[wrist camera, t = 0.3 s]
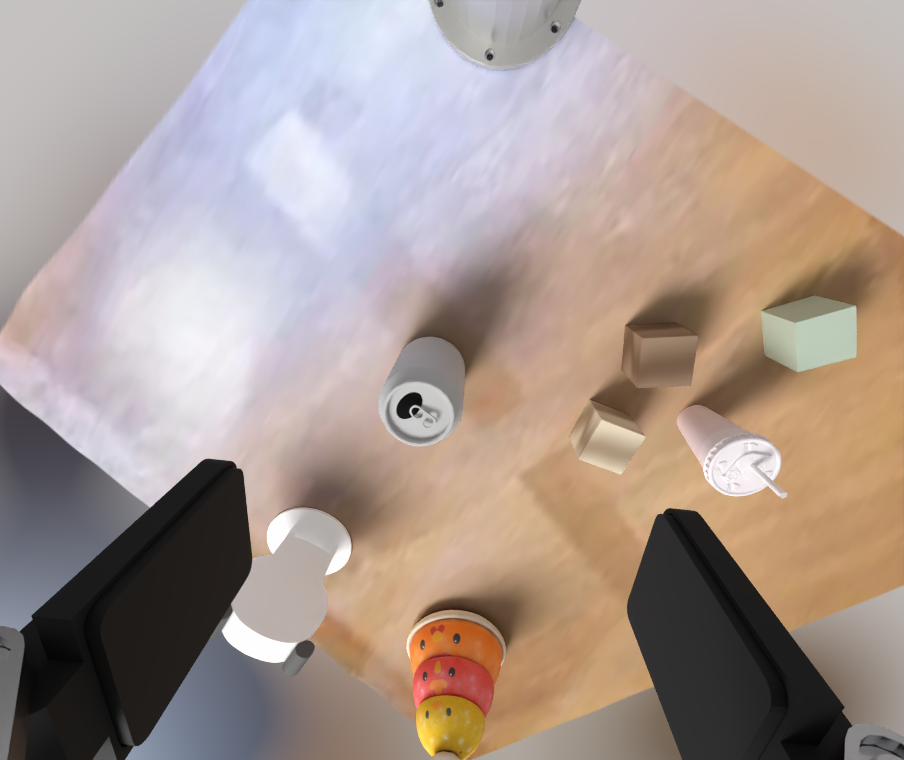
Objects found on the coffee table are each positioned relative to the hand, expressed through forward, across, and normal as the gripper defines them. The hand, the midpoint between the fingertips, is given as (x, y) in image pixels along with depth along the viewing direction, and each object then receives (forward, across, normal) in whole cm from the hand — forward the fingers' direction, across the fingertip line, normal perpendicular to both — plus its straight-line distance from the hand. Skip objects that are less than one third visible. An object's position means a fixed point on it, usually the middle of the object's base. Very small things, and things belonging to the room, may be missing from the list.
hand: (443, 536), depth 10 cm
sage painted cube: (+36, -33, +1) cm, 49 cm away
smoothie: (+36, -27, +12) cm, 47 cm away
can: (+36, +3, +9) cm, 38 cm away
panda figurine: (+37, +18, +36) cm, 54 cm away
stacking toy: (+37, -4, +51) cm, 63 cm away
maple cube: (+36, -17, +14) cm, 42 cm away
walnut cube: (+36, -20, +4) cm, 41 cm away
